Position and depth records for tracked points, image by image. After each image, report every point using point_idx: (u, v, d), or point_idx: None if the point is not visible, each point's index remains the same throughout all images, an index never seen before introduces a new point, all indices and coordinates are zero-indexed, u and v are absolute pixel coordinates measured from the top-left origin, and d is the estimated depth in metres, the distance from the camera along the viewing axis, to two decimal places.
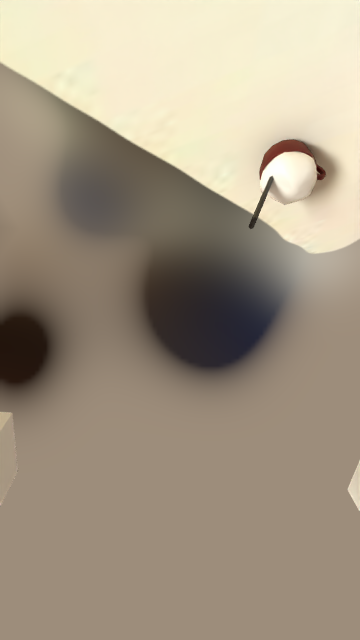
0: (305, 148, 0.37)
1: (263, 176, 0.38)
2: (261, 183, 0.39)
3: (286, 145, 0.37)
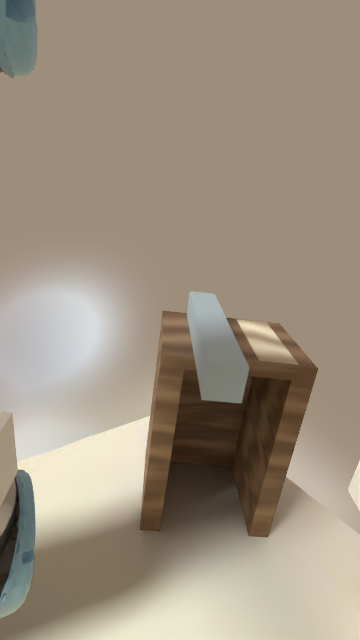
0: None
1: None
2: None
3: None
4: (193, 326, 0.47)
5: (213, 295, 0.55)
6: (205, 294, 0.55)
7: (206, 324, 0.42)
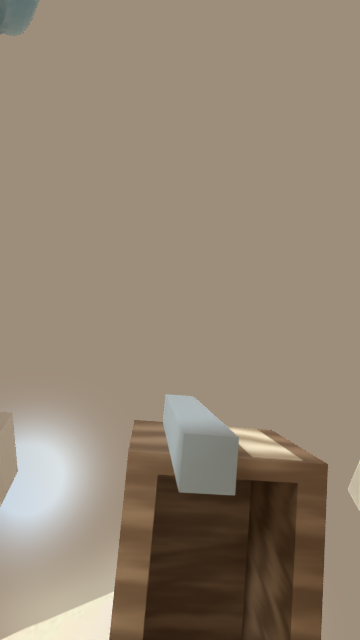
0: None
1: None
2: None
3: None
4: (168, 422, 0.38)
5: (192, 397, 0.49)
6: (182, 396, 0.49)
7: (182, 410, 0.35)
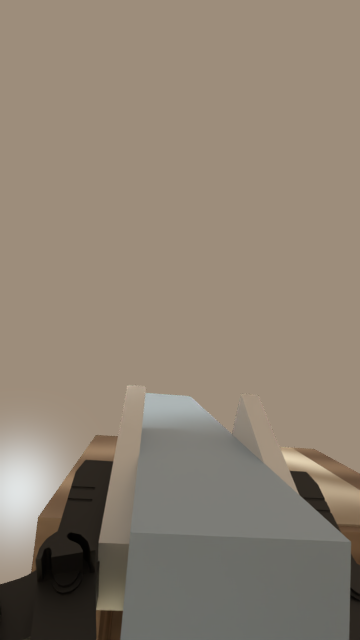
0: None
1: None
2: None
3: None
4: None
5: (188, 397, 0.30)
6: (173, 396, 0.30)
7: (163, 424, 0.16)
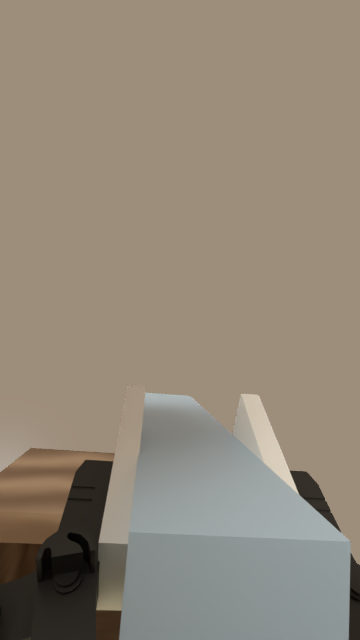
0: None
1: None
2: None
3: None
4: None
5: (187, 396, 0.30)
6: (173, 395, 0.30)
7: (163, 423, 0.16)
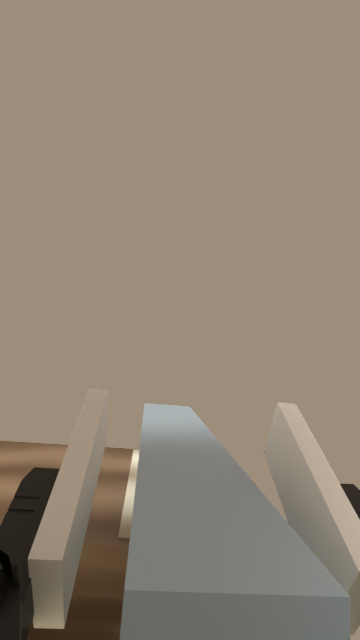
0: None
1: None
2: None
3: None
4: None
5: (187, 407, 0.30)
6: (172, 406, 0.30)
7: (161, 443, 0.16)
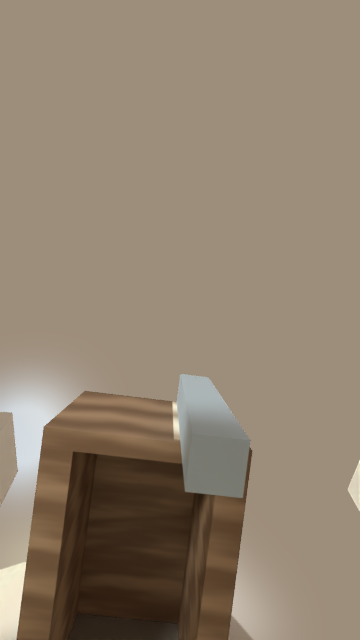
0: None
1: None
2: None
3: None
4: (181, 407, 0.38)
5: (207, 378, 0.48)
6: (197, 377, 0.48)
7: (195, 399, 0.34)
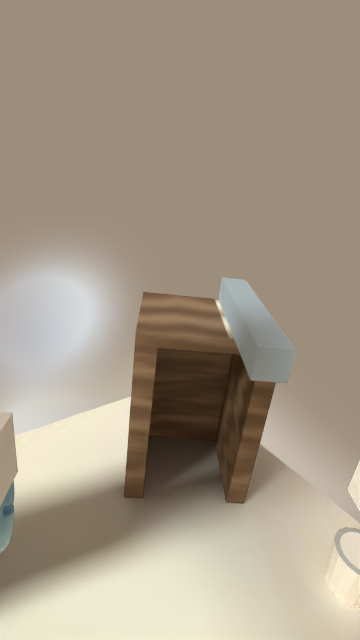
0: None
1: None
2: None
3: None
4: (230, 311, 0.49)
5: (244, 281, 0.58)
6: (237, 280, 0.58)
7: (246, 310, 0.45)
